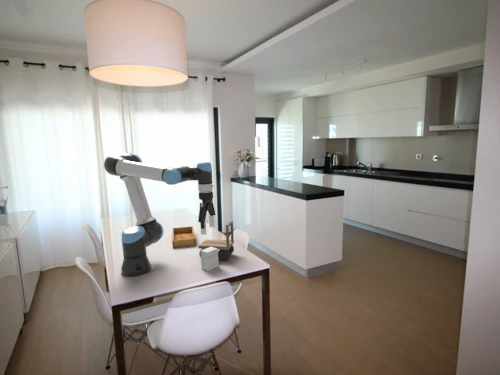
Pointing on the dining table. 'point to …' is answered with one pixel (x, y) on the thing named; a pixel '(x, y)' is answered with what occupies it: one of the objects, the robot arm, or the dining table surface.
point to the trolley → (221, 244)
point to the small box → (209, 258)
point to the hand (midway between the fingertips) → (208, 230)
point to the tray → (183, 237)
